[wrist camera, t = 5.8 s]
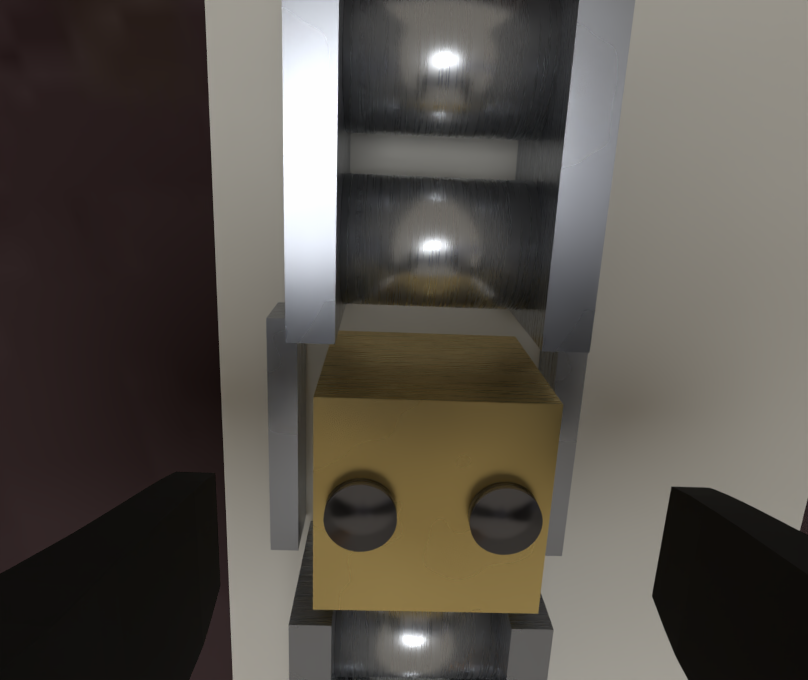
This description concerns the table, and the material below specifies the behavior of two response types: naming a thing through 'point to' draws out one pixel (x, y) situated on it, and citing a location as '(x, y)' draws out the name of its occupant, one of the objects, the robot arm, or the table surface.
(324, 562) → the tan knob cube
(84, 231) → the table surface
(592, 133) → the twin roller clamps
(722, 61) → the mat
